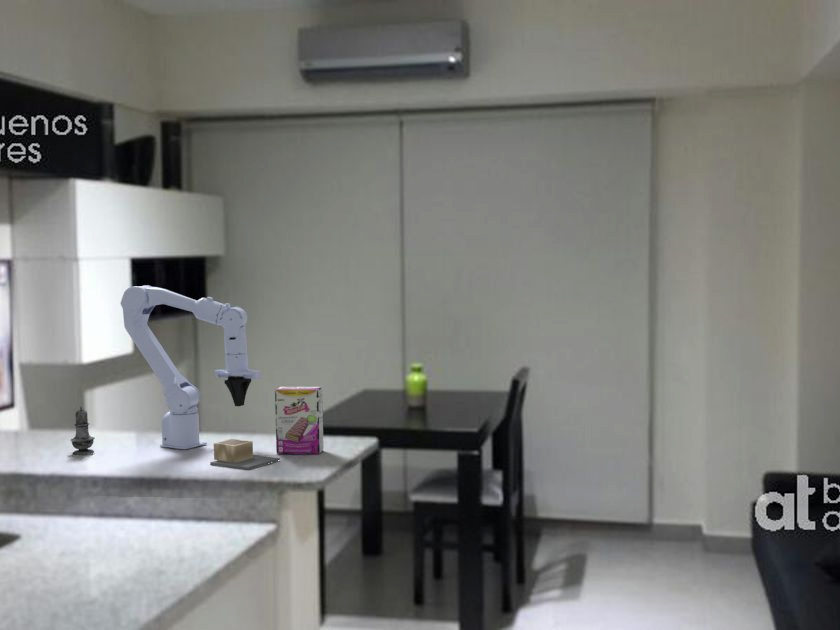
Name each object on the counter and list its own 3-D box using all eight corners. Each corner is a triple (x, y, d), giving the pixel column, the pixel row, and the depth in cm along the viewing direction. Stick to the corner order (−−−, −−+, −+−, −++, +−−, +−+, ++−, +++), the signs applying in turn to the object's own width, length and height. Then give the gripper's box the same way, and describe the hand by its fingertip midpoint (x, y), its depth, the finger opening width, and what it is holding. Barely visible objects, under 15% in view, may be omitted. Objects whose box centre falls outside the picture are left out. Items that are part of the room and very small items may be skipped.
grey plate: (210, 464, 224) (210, 462, 224) (242, 455, 233) (242, 453, 233) (248, 469, 218) (248, 467, 218) (279, 460, 227) (279, 458, 227)
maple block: (213, 443, 226) (235, 445, 223) (231, 438, 232) (252, 441, 228) (214, 459, 227) (235, 462, 223) (231, 455, 232) (253, 457, 228)
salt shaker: (99, 452, 242) (97, 405, 241) (77, 456, 238) (75, 408, 237) (88, 449, 246) (86, 403, 245) (66, 453, 242) (64, 406, 241)
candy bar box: (275, 454, 234) (273, 389, 233) (280, 450, 239) (278, 386, 238) (320, 454, 233) (318, 388, 232) (324, 450, 238) (322, 385, 237)
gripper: (205, 355, 246) (208, 406, 246) (245, 355, 238) (249, 409, 239) (224, 352, 252) (227, 402, 252) (265, 352, 244) (268, 405, 244)
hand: (239, 405), depth 246 cm, fingers closed
